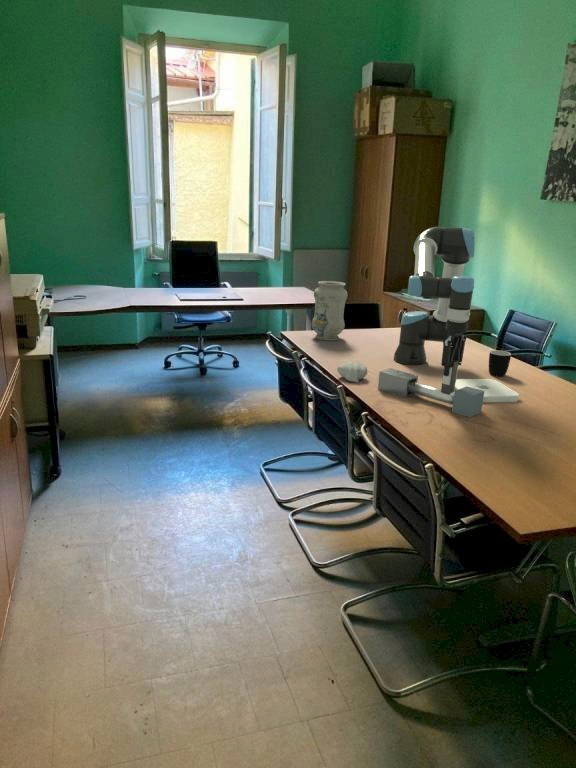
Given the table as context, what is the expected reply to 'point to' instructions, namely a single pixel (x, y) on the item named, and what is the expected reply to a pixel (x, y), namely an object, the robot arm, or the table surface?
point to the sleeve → (396, 382)
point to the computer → (489, 389)
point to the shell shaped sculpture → (352, 371)
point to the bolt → (435, 393)
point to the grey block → (468, 401)
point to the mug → (499, 362)
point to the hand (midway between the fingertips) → (449, 382)
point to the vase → (329, 310)
